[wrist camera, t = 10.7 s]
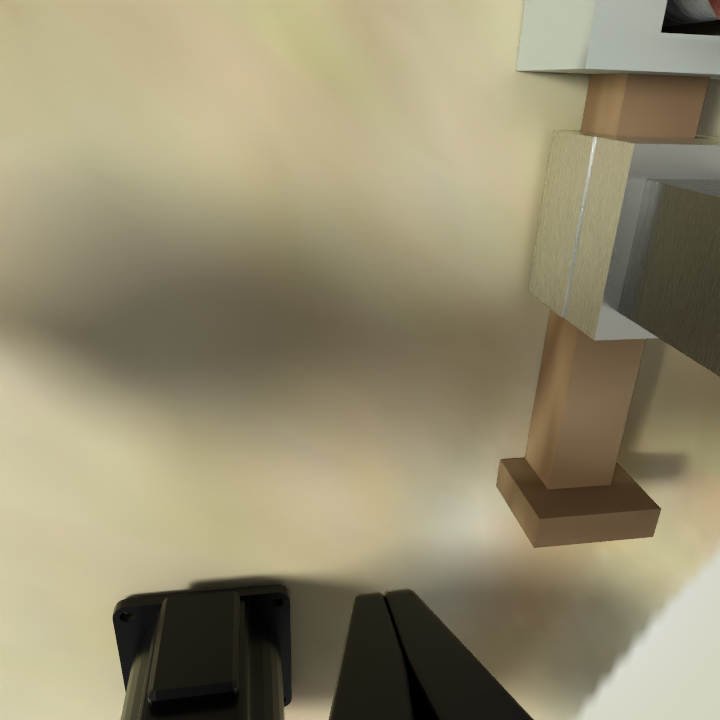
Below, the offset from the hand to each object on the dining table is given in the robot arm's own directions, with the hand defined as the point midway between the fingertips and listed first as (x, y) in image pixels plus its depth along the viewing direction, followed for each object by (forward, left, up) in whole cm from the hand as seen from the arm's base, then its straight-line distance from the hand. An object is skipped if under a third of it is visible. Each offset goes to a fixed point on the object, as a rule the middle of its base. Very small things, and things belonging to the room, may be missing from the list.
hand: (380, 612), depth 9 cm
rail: (0, -9, -12) cm, 15 cm away
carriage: (+3, -9, -12) cm, 16 cm away
